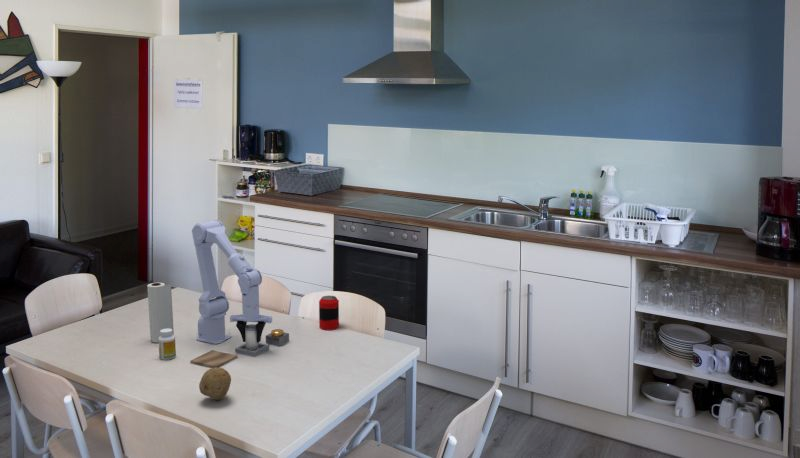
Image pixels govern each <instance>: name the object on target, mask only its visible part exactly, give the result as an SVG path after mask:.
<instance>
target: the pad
mask: <svg viewBox="0 0 800 458" xmlns="http://www.w3.org/2000/svg"><path fill="white" fill-rule="evenodd" d="M236 359H238V355H237V354H233V353H227V352H223V351H218V350H209V351H208V352H205V353H204V354H202V355H198V356H197V357H195V358H192V359H191V360H189V362H190V363H189V364H193V365H199V366H202V367H207V368H210V369H211V368H215V367H217V368H221V367H222V366H224V365H226V364H228V363H230V362H231V361H232V362H233V361H234V360H236Z"/></svg>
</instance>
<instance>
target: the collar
mask: <svg viewBox="0 0 800 458" xmlns="http://www.w3.org/2000/svg"><path fill="white" fill-rule="evenodd" d="M267 350H270V344H266V343H261V342H259V343H258V349H256V350H246V343H245V342H244V343H243V344H241V345H239V346H238V347H236V348H234V353H235V354H240V355H245V356H250V357H254V358H255V357H256V356H259V355H260V354H262V353H265V352H266V351H267Z"/></svg>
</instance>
